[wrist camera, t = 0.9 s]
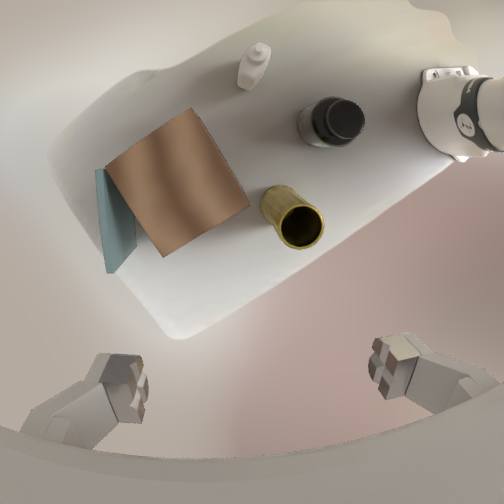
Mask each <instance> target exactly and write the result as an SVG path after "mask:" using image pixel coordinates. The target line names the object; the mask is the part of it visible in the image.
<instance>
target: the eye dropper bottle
mask: <svg viewBox="0 0 504 504" xmlns="http://www.w3.org/2000/svg"><path fill="white" fill-rule="evenodd" d="M270 57H271V49H270V47H269V46H267V45H265V44H263V43H260V42H257V43H255V44H253V45H252V46H250V47H249V48H248V49H247V50H246V52H245V53H244V55H243V57H242V59H241V62H240V65H239V71H238V78H237V85H238V86H239V87H241V88H243V89H246V90H251V89H253V88H254V87H255V86H256V85H257V84H258V83H259V81H260V80H261V78H262V76H263V74H264V72H265V70H266V68H267V66H268V64H269V61H270Z"/></svg>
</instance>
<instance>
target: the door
mask: <svg viewBox="0 0 504 504" xmlns="http://www.w3.org/2000/svg"><path fill="white" fill-rule="evenodd" d="M95 173H96V189H97V201H98V212H99V222H100V230H101V238H102V246H103V253H104V260H105V266H106V271H107V273H114V272H115V271H116V270H117V269H118V268H119V266H120V265H121V264H122V263H123V262H124V261H125V259H126V258H127V257H128V256H129V255H130V254H131V253H132V251H133V250H134V249H135V248H136V247H137V244H136V235H135V224H134V213H133V212H132V210H131V209H130V207H129V206H128V204H127V202H126V201H125V199H124V198H123V196H122V194H121V193H120V191H119V190H118V188H117V186H116V185H115V183H114V181H113V180H112V178H111V176H110V175H109V173H108V171H107V170H106V168H105V169H99V170H95Z"/></svg>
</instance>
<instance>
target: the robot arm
mask: <svg viewBox="0 0 504 504" xmlns="http://www.w3.org/2000/svg"><path fill="white" fill-rule="evenodd" d="M433 74H434V76H433ZM417 111H418V118H419V122H420V125H421V128H422V130H423V133H424V134H425V136H426V138H427V139H428V141H429V142H430V143H431V144H432V145H433V146H434V147H435V148H436V149H438V150H439V151H441V152H443V153H447V154H450V155H452V156H453V157H454V158H455V159H456V160H457V161H458V162H464V161H466V160H467V159H468V158H469V157H485V156H486V154H488V153H489V151H490V152H504V77H503V78H497V79H493V78H489V77H488V76H487V75H479V74H478V73H477V72H476V70H475V69H474V68H472V67H460V68H437V69H426V70H424V71H423V85H422V88H421V91H420V93H419V97H418V103H417ZM372 349H373V351H374V353H373V354H372V355H371V357H370V358H369V364H368V370H369V374H370V377H371V379H372V380H373V381H374V382H376V383H378V384H379V387H378V390H379V391H380V393H381V394H382V396H383V397H384V399H385V400H388V399H393V398H396V397H401V396H405V397H407V398H408V399H410V400H412V401H413V402H415V403H416V404H418V405H420V406H422V407H423V408H425V409H427V410H428V411H430V412H432V413H433V414H434V415H432V416H429V417H427V418H424V419H421V420H419V421H416V422H413V423H410V424H407V425H404V426H401V427H398V428H395V429H391V430H388V431H385V432H381V433H378V434H374V435H371V436H367V437H363V438H359V439H355V440H351V441H347V442H342V443H338V444H333V445H328V446H324V447H318V448H312V449H307V450H300V451H294V452H287V453H279V454H271V455H261V456H249V457H235V458H209V459H208V458H203V459H191V458H161V457H147V456H135V455H126V454H118V453H110V452H103V451H97V450H92V449H93V448H94V447H95V446H96V445H97V444H98V443H99V442H100V441H101V440H102V439H103V438H104V437H105V436H106V435H107V434H108V433H109V432H110V431H111V430H112V429H113V428H114V427H115V426H116V425H117V424H118V422H123V423H139V424H142V421H143V416H144V412H145V408H144V405H143V404H144V403H145V402H146V401H147V398H148V380H147V376H146V374H144V373H143V372H142V369H143V366H144V364H143V361H142V357H141V356H140V355H127V354H110V353H99V354H98V355H97V356H96V358H95V360H94V362H93V364H92V366H91V368H90V370H89V372H88V374H87V376H86V378H85V380H84V381H79V382H77V383H76V384H74V385H72V386H71V387H69V388H67V389H66V390H64V391H62V392H61V393H59V394H57V395H55V396H54V397H52V398H50V399H49V400H47V401H45V402H44V403H42V404H40V405H39V406H37V407H35V408H34V409H32V410H31V411H30V413H29V415H28V417H27V419H26V420H25V422H24V424H23V426H22V428H21V430H20V432H17V431H14V430H11V429H8V428H5V427H2V426H0V504H504V382H503V383H501V384H500V383H499V382H498V381H497V380H496V379H495V378H493V377H492V376H491V375H490V374H489V373H488V372H487V371H486V370H485V369H484V368H481V367H478V366H475V365H472V364H469V363H466V362H463V361H460V360H457V359H454V358H452V357H449V356H446V355H443V354H440V353H438V352H434V353H433V352H432V351H431V350H430V349H429V348H428V347H427V346H426V345H424V343H423V342H422V341H421V340H420V339H419V338H418V337H417V336H416V335H415V334H414V333H413V332H410V331H408V332H403V333H399V334H396V335H391V336H386V337H380V338H375V340H374V342H373V345H372Z"/></svg>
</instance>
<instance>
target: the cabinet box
mask: <svg viewBox="0 0 504 504" xmlns="http://www.w3.org/2000/svg"><path fill="white" fill-rule="evenodd" d="M105 168H106V170H107V171H108V173H109V175H110V176H111V178H112V180H113V181H114V183H115V185H116V186H117V188H118V190H119V191H120V193H121V194H122V196H123V198H124V199H125V201H126V202H127V204H128V206H129V207H130V209H131V210H132V212H133V213H134V215H135V217H136V218H137V220H138V221H139V223H140V224H141V226H142V227H143V229H144V230H145V232H146V233H147V235H148V236H149V238H150V239H151V241H152V242H153V244H154V245H155V247H156V248H157V250H158V251H159V253H160V254H161V256H162V257H163V258H164V257H165V256H167V255H169V254H170V253H172V252H173V251H175V250H177V249H178V248H180V247H182V246H183V245H185V244H186V243H188V242H190V241H191V240H193V239H195V238H196V237H198V236H200V235H201V234H203V233H205V232H206V231H208V230H210V229H211V228H213V227H215V226H216V225H218V224H220V223H221V222H223V221H225V220H227V219H228V218H230V217H232V216H233V215H235V214H237V213H239V212H240V211H242V210H244V209H245V208H247V207H249V206H250V204H249V201H248V199H247V197H246V194H245V192H244V190H243V189H242V187H241V185H240V184H239V182H238V180H237V179H236V177H235V175H234V174H233V172H232V170H231V168H230V167H229V165H228V163H227V162H226V160H225V158H224V157H223V155H222V153H221V152H220V150H219V149H218V147H217V145H216V144H215V142H214V140H213V139H212V137H211V135H210V134H209V132H208V130H207V129H206V127H205V125H204V124H203V122H202V121H201V119H200V118H199V117H198V115H197V114H196V113H195V112H194V110H193V109H192V108H190V109H188V110H187V111H185V112H183V113H182V114H180V115H178V116H177V117H175V118H174V119H172V120H170V121H169V122H167V123H166V124H164V125H163V126H161V127H160V128H158V129H157V130H155V131H154V132H152V133H151V134H149V135H148V136H146V137H145V138H143V139H142V140H140V141H139V142H138V143H136V144H135V145H133V146H132V147H131V148H129V149H128V150H126V151H125V152H124V153H122V154H121V155H120V156H118V157H117V158H116V159H114V160H113V161H112V162H110V163H109V164H108V165H107V166H105Z"/></svg>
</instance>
